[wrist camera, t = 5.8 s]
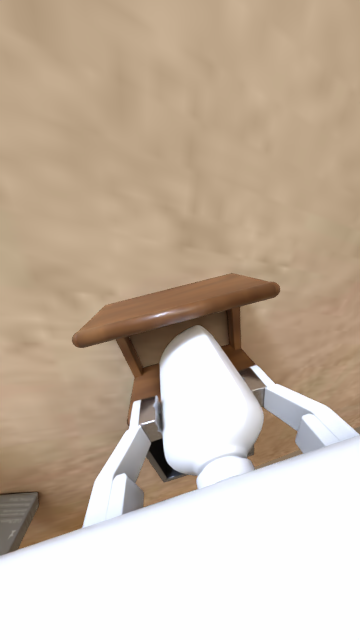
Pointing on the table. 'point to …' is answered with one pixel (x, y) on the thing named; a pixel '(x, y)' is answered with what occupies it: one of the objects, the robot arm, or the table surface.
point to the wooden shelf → (174, 321)
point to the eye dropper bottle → (206, 410)
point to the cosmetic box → (15, 519)
